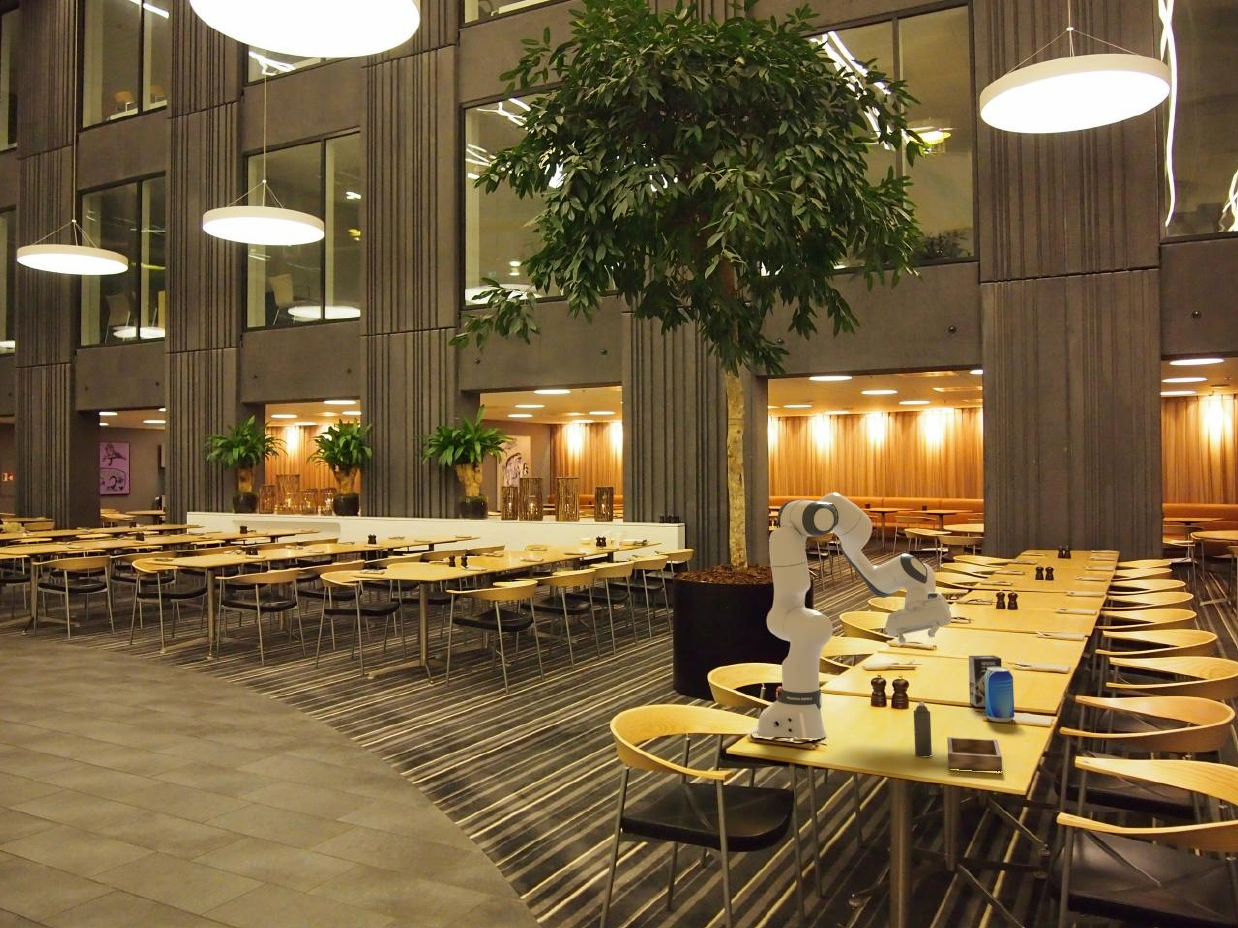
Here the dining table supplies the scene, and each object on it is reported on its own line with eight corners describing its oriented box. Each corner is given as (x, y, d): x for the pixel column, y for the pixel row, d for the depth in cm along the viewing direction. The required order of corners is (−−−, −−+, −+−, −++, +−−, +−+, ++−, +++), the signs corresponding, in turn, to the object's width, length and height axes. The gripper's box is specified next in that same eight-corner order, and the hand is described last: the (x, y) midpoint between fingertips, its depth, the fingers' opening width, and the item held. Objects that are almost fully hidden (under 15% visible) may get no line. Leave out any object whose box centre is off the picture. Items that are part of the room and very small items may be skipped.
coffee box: (976, 707, 308) (974, 658, 309) (969, 702, 315) (967, 655, 315) (1003, 706, 308) (1001, 658, 308) (996, 701, 314) (994, 654, 315)
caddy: (949, 770, 244) (948, 753, 244) (947, 753, 259) (947, 736, 259) (1002, 773, 239) (1001, 756, 239) (997, 756, 255) (997, 739, 255)
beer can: (1007, 715, 297) (1005, 665, 297) (1019, 722, 288) (1017, 670, 289) (981, 716, 296) (979, 666, 297) (992, 723, 288) (991, 671, 288)
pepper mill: (915, 756, 256) (913, 703, 257) (915, 751, 261) (913, 699, 261) (931, 757, 255) (929, 704, 255) (931, 752, 259) (929, 700, 260)
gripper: (884, 606, 295) (879, 638, 285) (945, 592, 283) (943, 625, 273) (893, 619, 297) (889, 652, 287) (954, 605, 286) (952, 639, 275)
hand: (916, 638), depth 280 cm, fingers open, 8 cm apart
